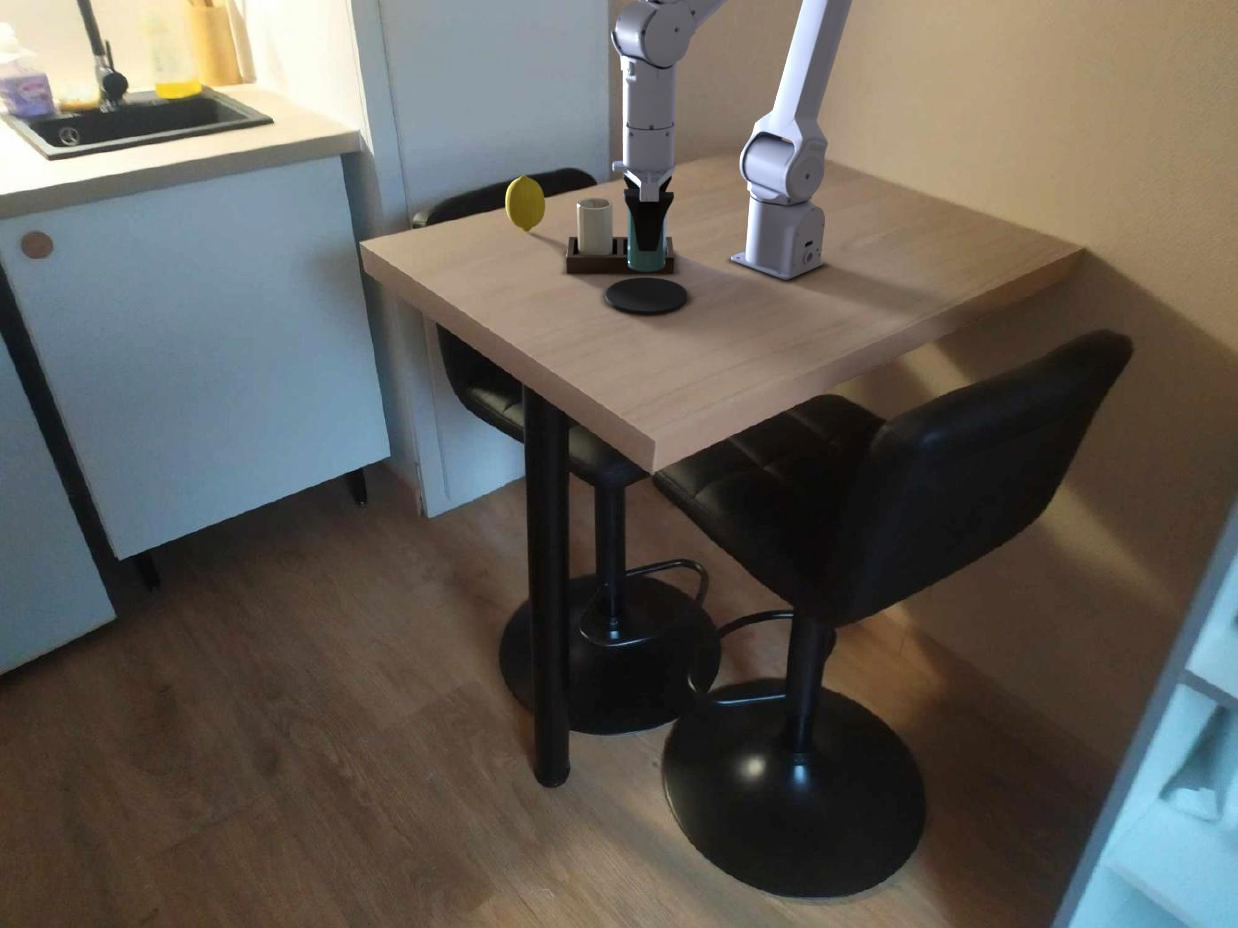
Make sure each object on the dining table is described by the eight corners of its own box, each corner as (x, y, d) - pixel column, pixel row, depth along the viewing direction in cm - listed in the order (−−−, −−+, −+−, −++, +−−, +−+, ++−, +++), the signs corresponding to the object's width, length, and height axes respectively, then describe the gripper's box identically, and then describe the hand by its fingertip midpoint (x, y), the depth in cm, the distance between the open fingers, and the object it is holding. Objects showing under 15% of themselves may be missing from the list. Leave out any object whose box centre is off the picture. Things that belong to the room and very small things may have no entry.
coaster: (704, 298, 113) (704, 294, 113) (645, 322, 107) (645, 318, 107) (647, 274, 119) (647, 270, 119) (588, 296, 113) (588, 292, 113)
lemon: (540, 240, 129) (537, 183, 125) (502, 237, 130) (498, 180, 126) (550, 226, 134) (548, 170, 129) (513, 223, 135) (510, 168, 130)
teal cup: (673, 265, 111) (675, 199, 106) (646, 275, 108) (647, 208, 104) (646, 254, 113) (647, 190, 109) (619, 264, 111) (619, 198, 106)
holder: (673, 273, 119) (674, 257, 118) (566, 273, 119) (566, 257, 118) (671, 252, 125) (671, 236, 124) (569, 252, 125) (569, 236, 124)
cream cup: (619, 263, 122) (619, 203, 118) (594, 272, 120) (593, 211, 115) (597, 253, 125) (596, 195, 120) (571, 262, 122) (569, 203, 118)
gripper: (613, 107, 107) (614, 220, 115) (611, 141, 96) (612, 265, 103) (674, 107, 107) (670, 220, 115) (680, 141, 96) (675, 265, 103)
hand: (647, 242), depth 109 cm, fingers closed on teal cup, 4 cm apart
